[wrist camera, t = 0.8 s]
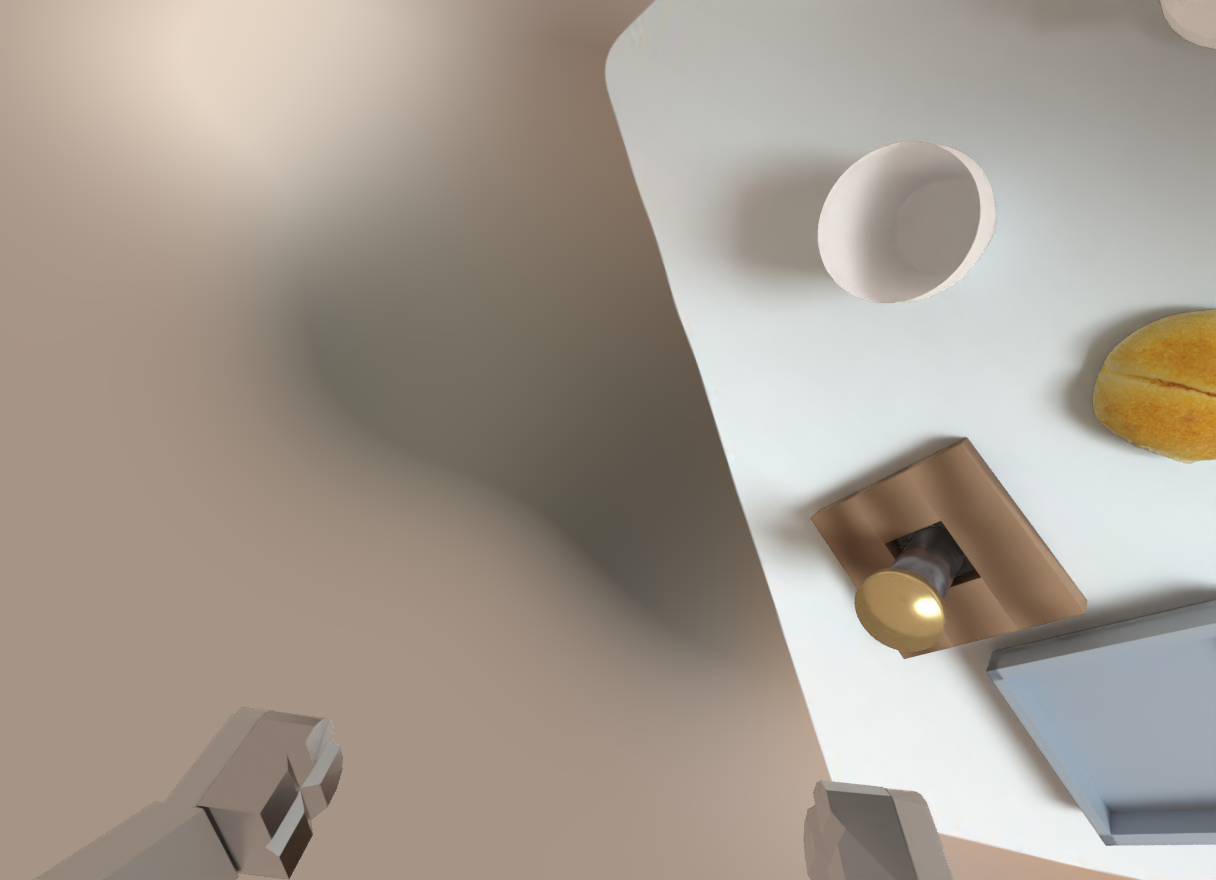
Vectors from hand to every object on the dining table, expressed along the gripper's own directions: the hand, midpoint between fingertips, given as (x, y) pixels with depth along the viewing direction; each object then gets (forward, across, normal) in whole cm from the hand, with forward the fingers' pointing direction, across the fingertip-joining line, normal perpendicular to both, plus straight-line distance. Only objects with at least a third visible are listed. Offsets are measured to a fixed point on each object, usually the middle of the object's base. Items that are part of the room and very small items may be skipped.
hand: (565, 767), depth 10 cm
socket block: (+35, -24, +21) cm, 47 cm away
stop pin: (+35, -24, +21) cm, 47 cm away
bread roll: (+32, -33, +4) cm, 46 cm away
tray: (+25, -38, +26) cm, 52 cm away
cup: (+41, -20, -4) cm, 46 cm away
